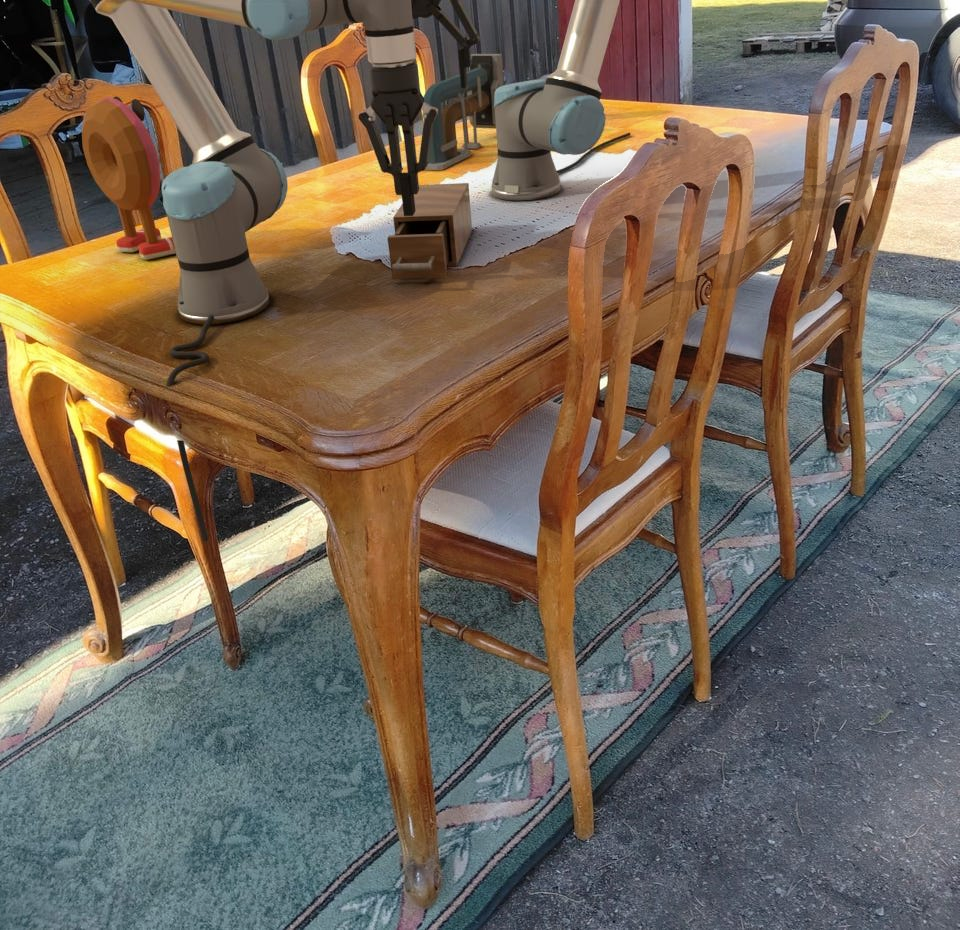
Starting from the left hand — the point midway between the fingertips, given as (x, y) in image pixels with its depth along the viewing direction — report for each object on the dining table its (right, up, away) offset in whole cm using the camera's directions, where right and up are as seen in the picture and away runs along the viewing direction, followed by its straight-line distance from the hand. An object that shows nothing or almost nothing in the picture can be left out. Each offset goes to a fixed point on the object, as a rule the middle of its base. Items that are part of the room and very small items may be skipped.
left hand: (409, 213), depth 162 cm
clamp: (+7, +39, +91) cm, 99 cm away
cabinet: (+4, 0, +24) cm, 25 cm away
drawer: (+2, -6, +14) cm, 15 cm away
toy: (-56, +2, +36) cm, 66 cm away
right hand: (+2, +27, +15) cm, 31 cm away
